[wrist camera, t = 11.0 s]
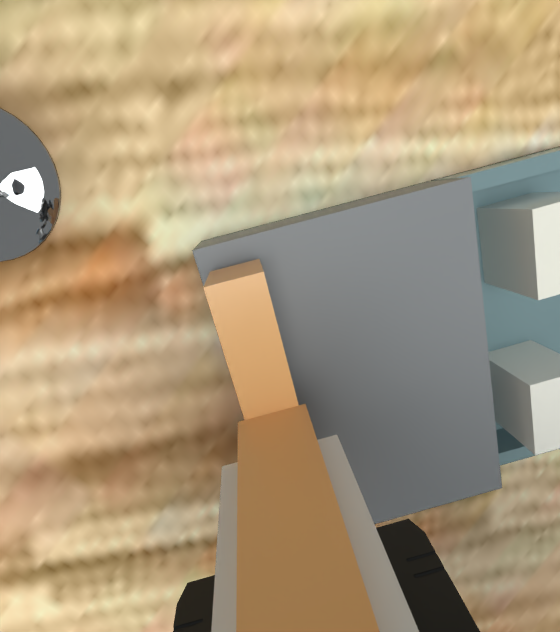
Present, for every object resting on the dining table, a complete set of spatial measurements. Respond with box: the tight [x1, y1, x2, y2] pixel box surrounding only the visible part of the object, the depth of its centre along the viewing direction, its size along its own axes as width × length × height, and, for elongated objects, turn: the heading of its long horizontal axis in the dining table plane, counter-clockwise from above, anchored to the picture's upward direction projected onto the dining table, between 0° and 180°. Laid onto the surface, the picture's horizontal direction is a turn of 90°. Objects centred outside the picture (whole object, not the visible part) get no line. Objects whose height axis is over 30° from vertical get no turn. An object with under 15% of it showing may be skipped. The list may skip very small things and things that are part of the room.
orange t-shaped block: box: [203, 259, 380, 632], centre depth 12 cm, size 14×2×11 cm, turn 14°
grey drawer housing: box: [192, 177, 502, 524], centre depth 20 cm, size 16×12×4 cm
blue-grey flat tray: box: [431, 147, 560, 465], centre depth 21 cm, size 16×10×2 cm, turn 14°
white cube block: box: [488, 340, 560, 455], centre depth 21 cm, size 4×4×3 cm
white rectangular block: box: [477, 192, 560, 300], centre depth 19 cm, size 4×4×3 cm
